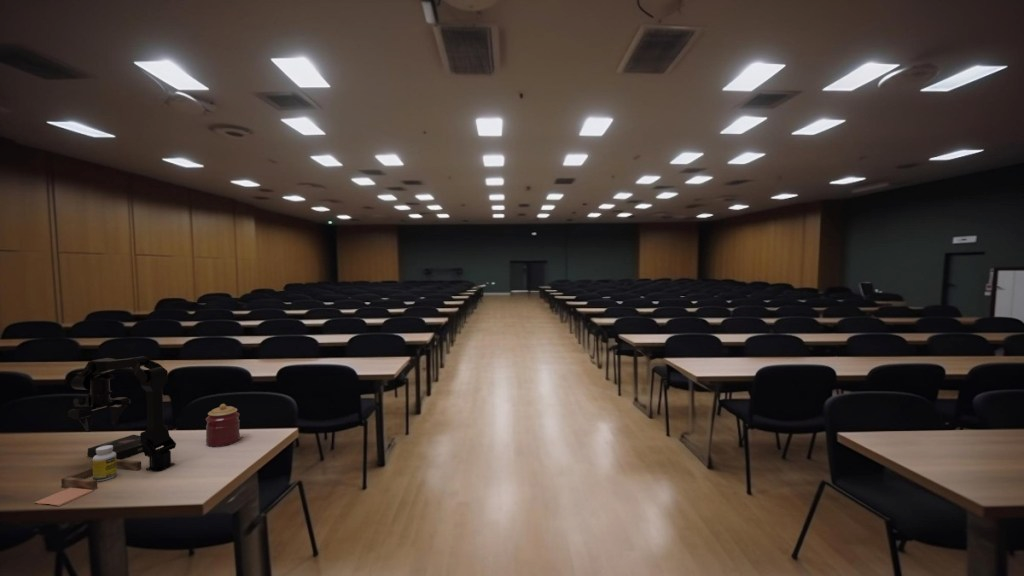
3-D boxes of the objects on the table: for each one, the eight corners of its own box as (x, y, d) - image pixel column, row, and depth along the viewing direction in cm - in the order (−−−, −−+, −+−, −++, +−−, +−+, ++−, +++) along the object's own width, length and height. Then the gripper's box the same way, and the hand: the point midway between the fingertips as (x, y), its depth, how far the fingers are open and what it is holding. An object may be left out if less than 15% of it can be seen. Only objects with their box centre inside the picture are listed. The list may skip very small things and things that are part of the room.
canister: (246, 437, 201) (246, 400, 200) (225, 448, 188) (225, 409, 187) (221, 435, 202) (220, 399, 201) (198, 446, 189) (198, 407, 188)
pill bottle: (101, 482, 156) (101, 451, 155) (88, 481, 157) (87, 450, 157) (121, 474, 162) (120, 444, 162) (108, 473, 163) (107, 443, 163)
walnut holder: (141, 468, 167) (141, 461, 167) (92, 490, 150) (92, 482, 150) (112, 466, 169) (112, 458, 169) (61, 487, 152) (61, 478, 152)
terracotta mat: (93, 491, 150) (93, 490, 150) (59, 506, 140) (59, 505, 140) (70, 488, 151) (70, 487, 151) (34, 503, 141) (34, 502, 141)
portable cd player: (132, 442, 194) (132, 434, 194) (158, 448, 188) (158, 439, 188) (87, 457, 178) (87, 448, 178) (113, 463, 173) (113, 453, 173)
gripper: (109, 383, 182) (109, 419, 182) (55, 395, 163) (57, 435, 164) (130, 384, 180) (131, 420, 181) (79, 396, 162) (80, 437, 162)
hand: (101, 427), depth 172 cm, fingers open, 9 cm apart
